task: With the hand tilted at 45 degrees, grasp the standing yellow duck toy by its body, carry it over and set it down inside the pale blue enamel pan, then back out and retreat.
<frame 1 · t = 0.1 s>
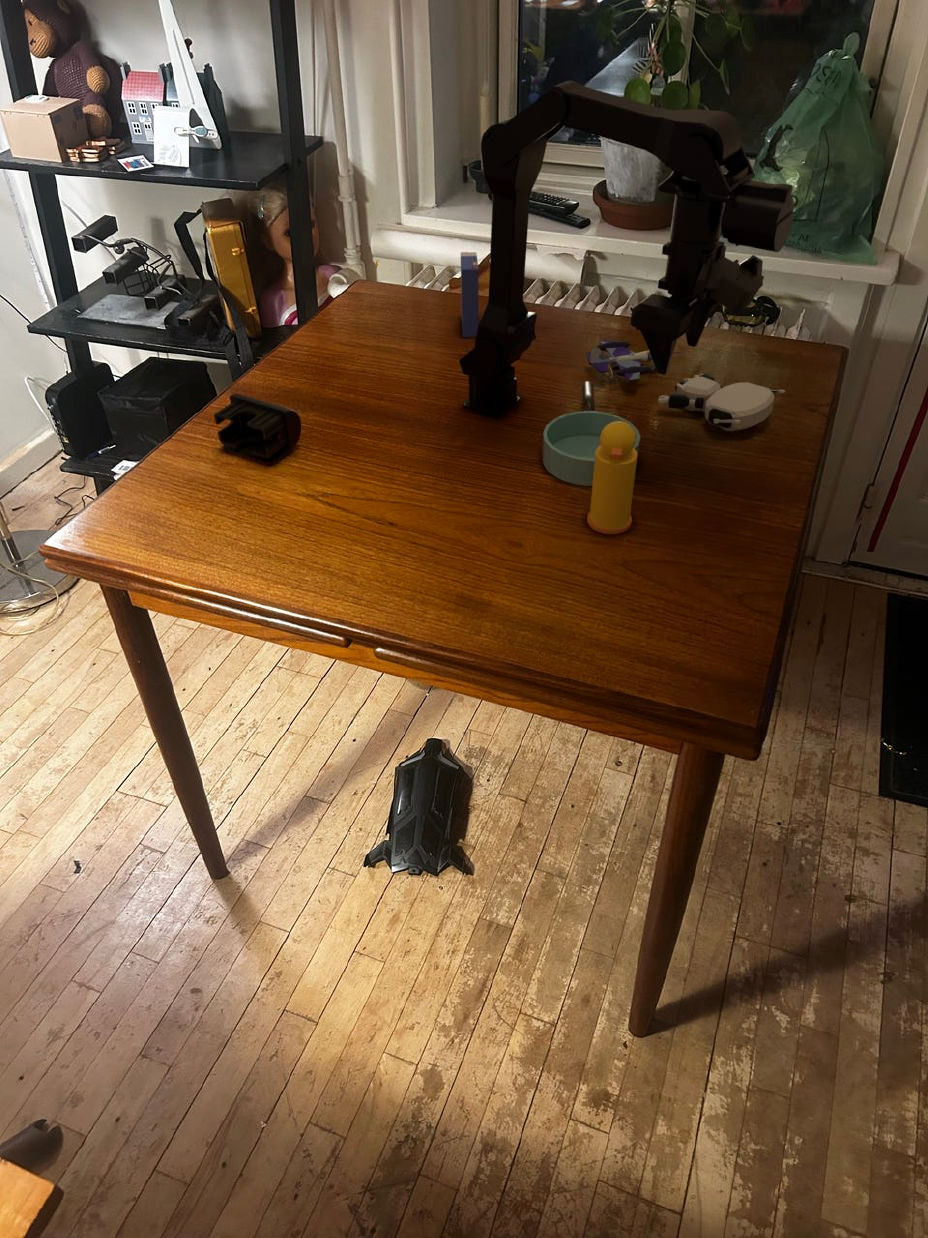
hand: (677, 359, 119), 15 cm above the table, tool pointing down, fingers open, 9 cm apart
robot toy: (716, 416, 137), on the table
toy airplane: (628, 374, 148), on the table
walkman: (469, 328, 162), on the table
duck toy: (609, 521, 118), on the table
pan handle: (588, 400, 135), point 2 cm above the table
end cap: (262, 448, 133), on the table
pan: (589, 460, 129), on the table
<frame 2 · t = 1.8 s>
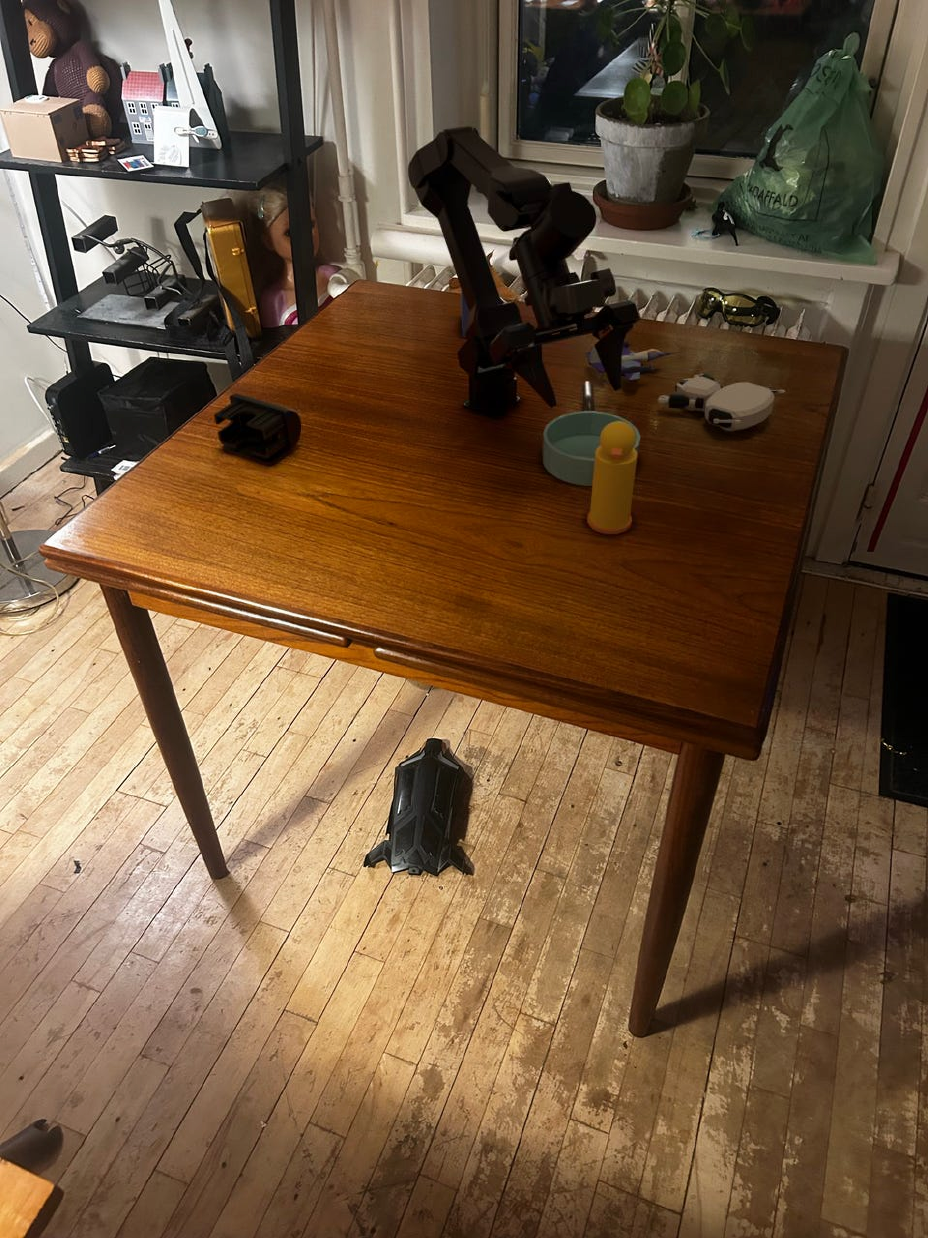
hand: (586, 397, 115), 13 cm above the table, tool tilted 45°, fingers open, 9 cm apart
nothing on the table moved.
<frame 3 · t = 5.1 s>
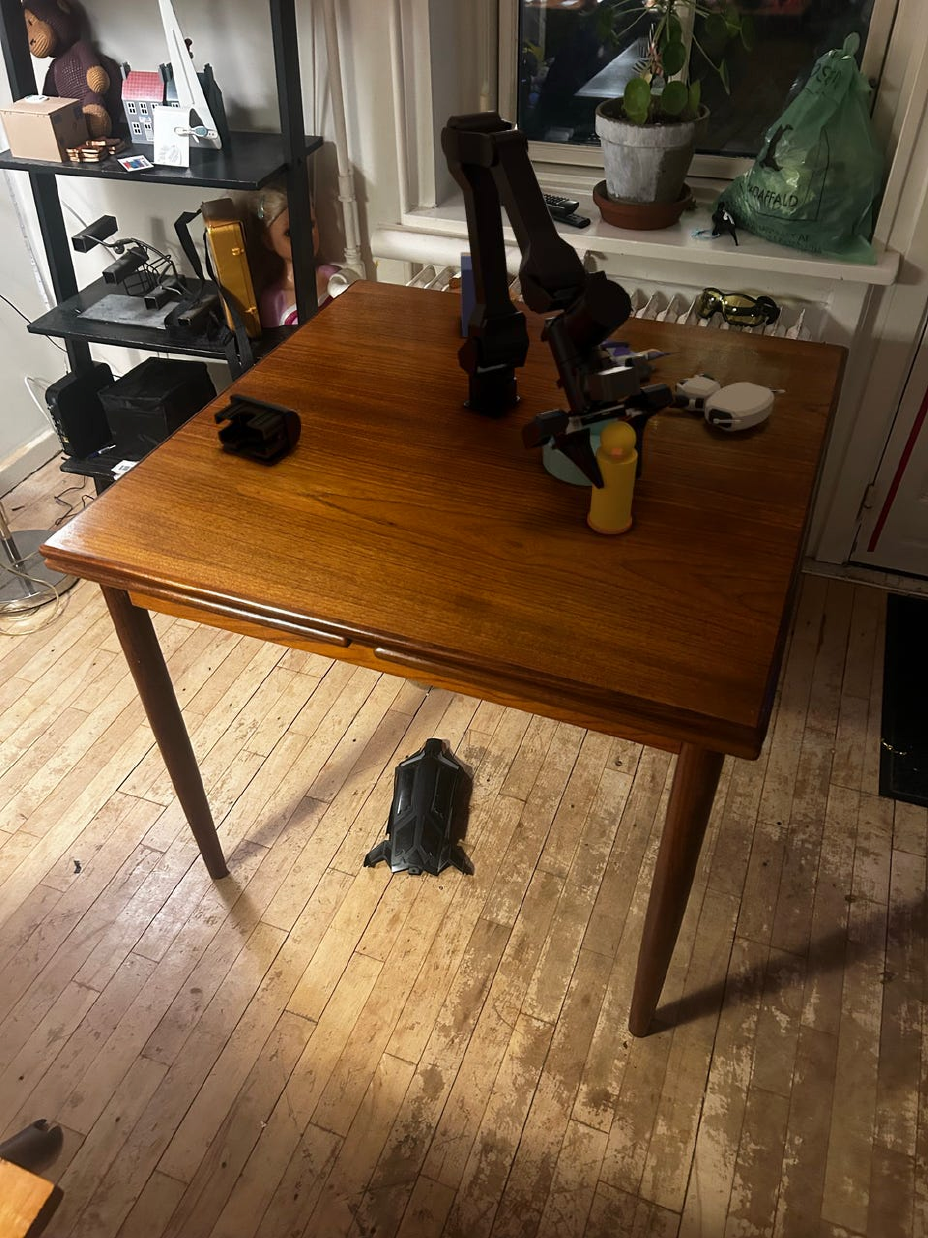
hand: (619, 483, 112), 7 cm above the table, tool tilted 45°, fingers closed on duck toy, 5 cm apart
duck toy: (609, 521, 118), on the table, touching gripper
everything else where it was.
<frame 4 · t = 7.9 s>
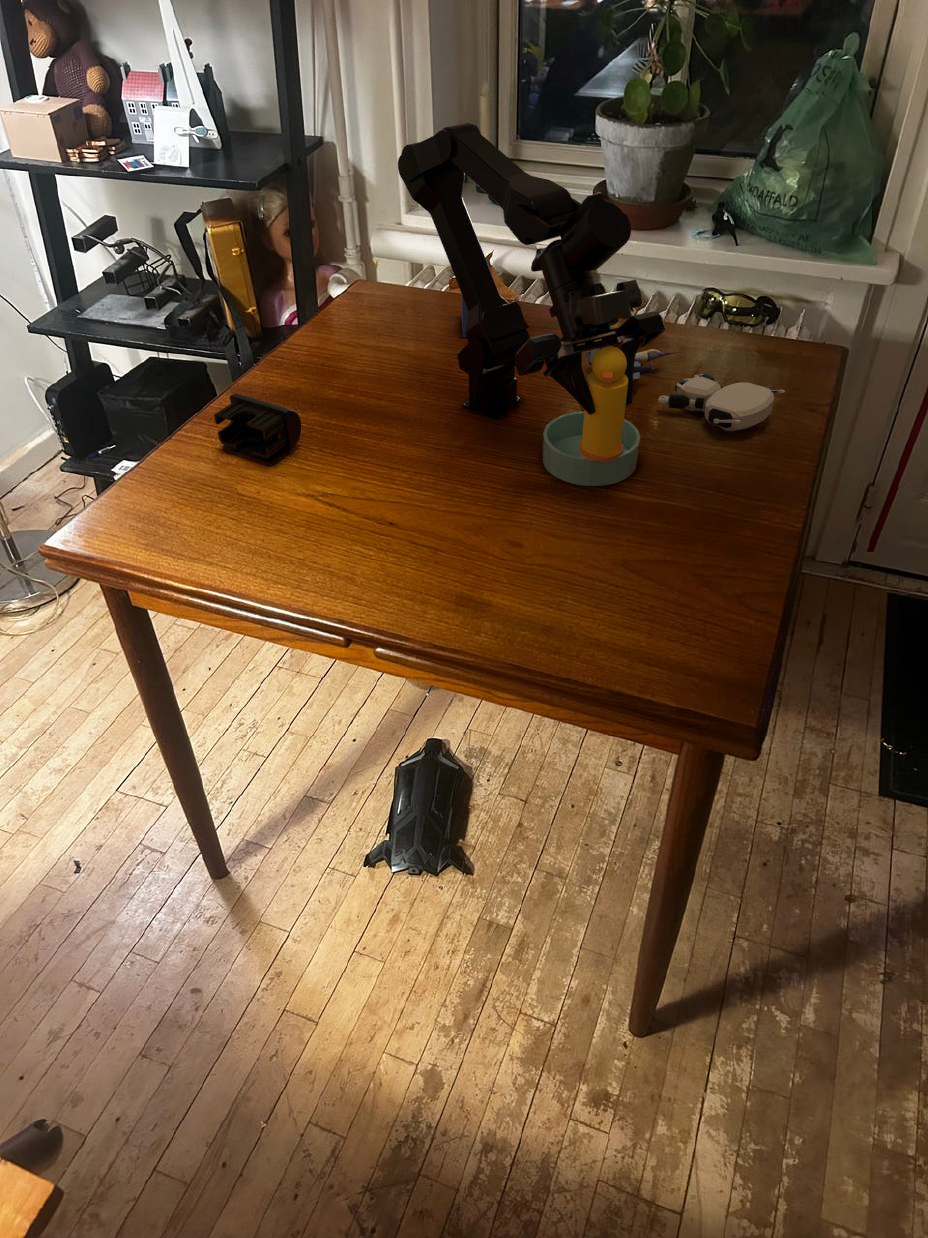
hand: (610, 408, 114), 12 cm above the table, tool tilted 45°, fingers closed on duck toy, 5 cm apart
duck toy: (600, 449, 120), point 6 cm above the table, touching gripper
everything else where it was.
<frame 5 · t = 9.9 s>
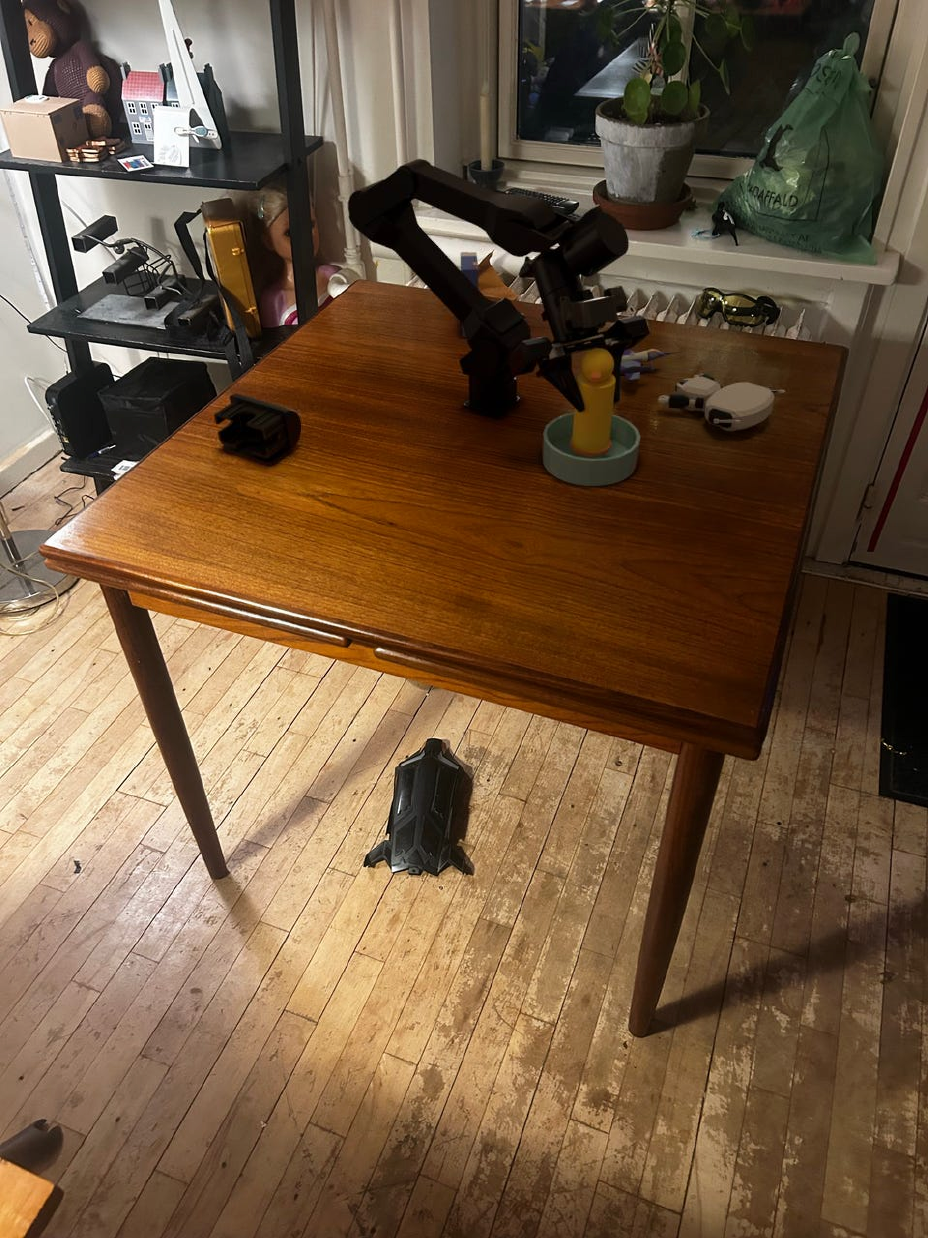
hand: (599, 406, 122), 9 cm above the table, tool tilted 45°, fingers closed on duck toy, 5 cm apart
duck toy: (590, 445, 127), point 2 cm above the table, touching gripper
everything else where it was.
when the fingers open (7 cm above the table, at t = 10.9 s): duck toy stays where it is, resting on pan.
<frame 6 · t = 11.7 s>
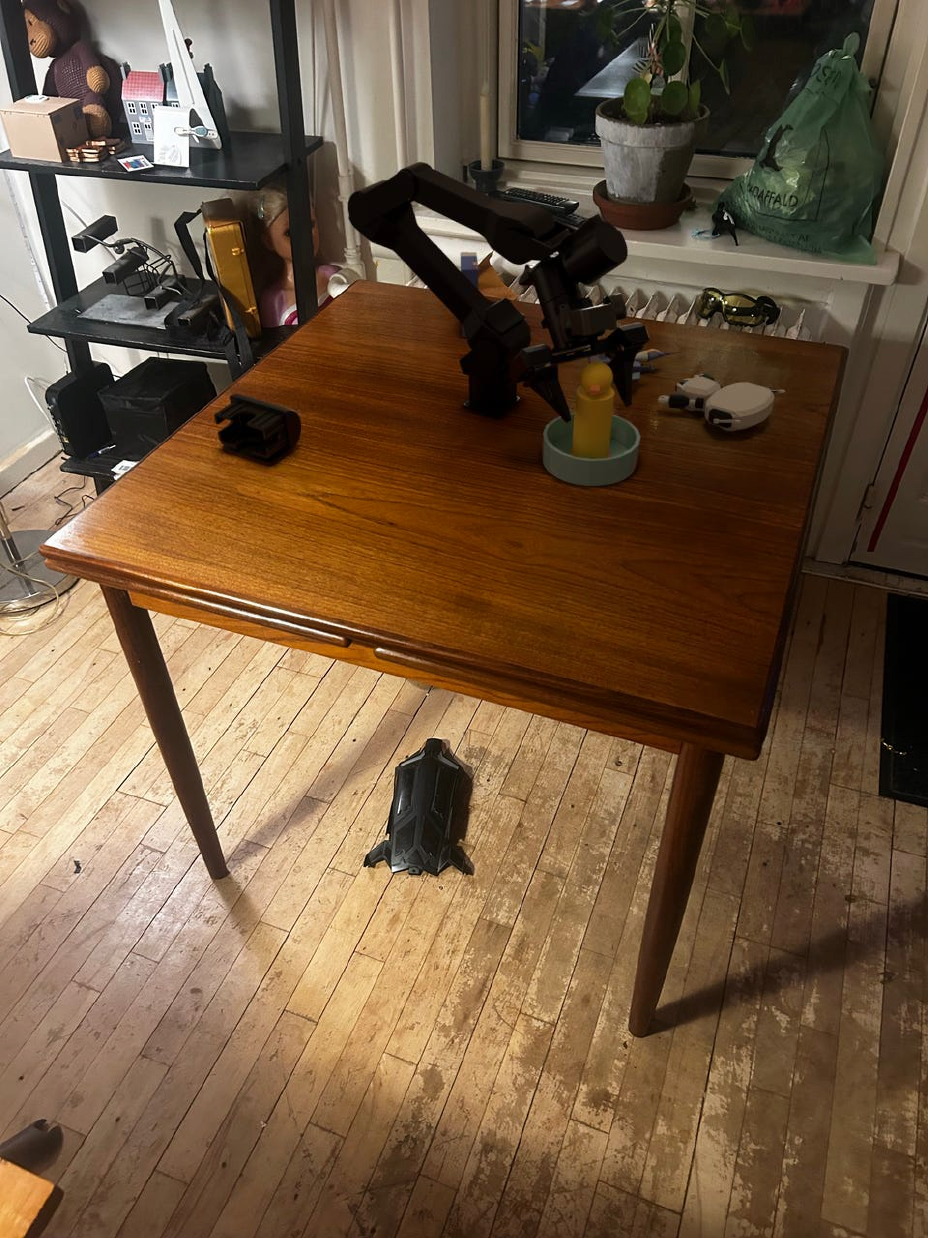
hand: (599, 413, 122), 8 cm above the table, tool tilted 45°, fingers open, 9 cm apart
duck toy: (589, 457, 128), resting on pan
everything else where it was.
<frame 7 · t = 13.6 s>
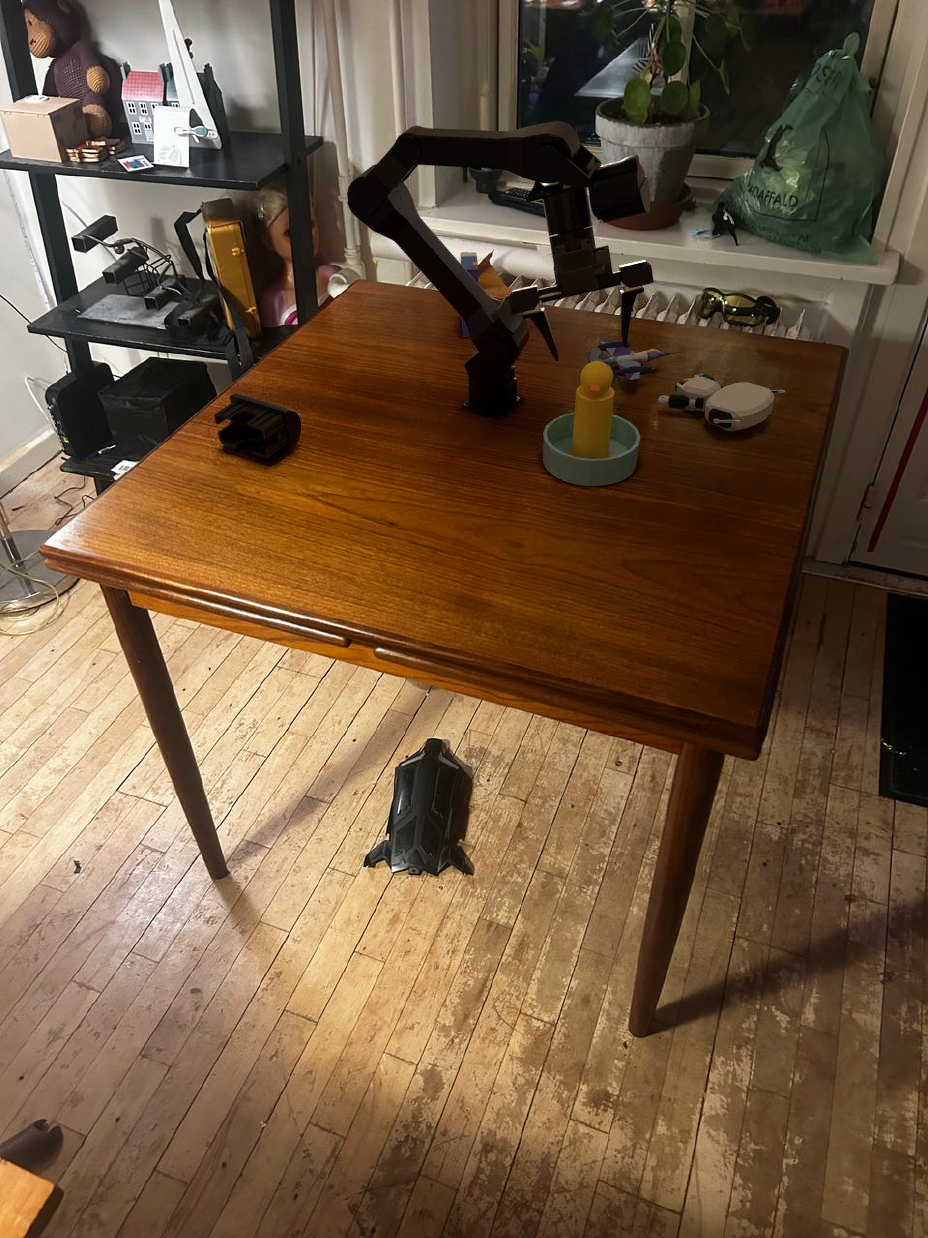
hand: (590, 353, 126), 12 cm above the table, tool tilted 25°, fingers open, 9 cm apart
nothing on the table moved.
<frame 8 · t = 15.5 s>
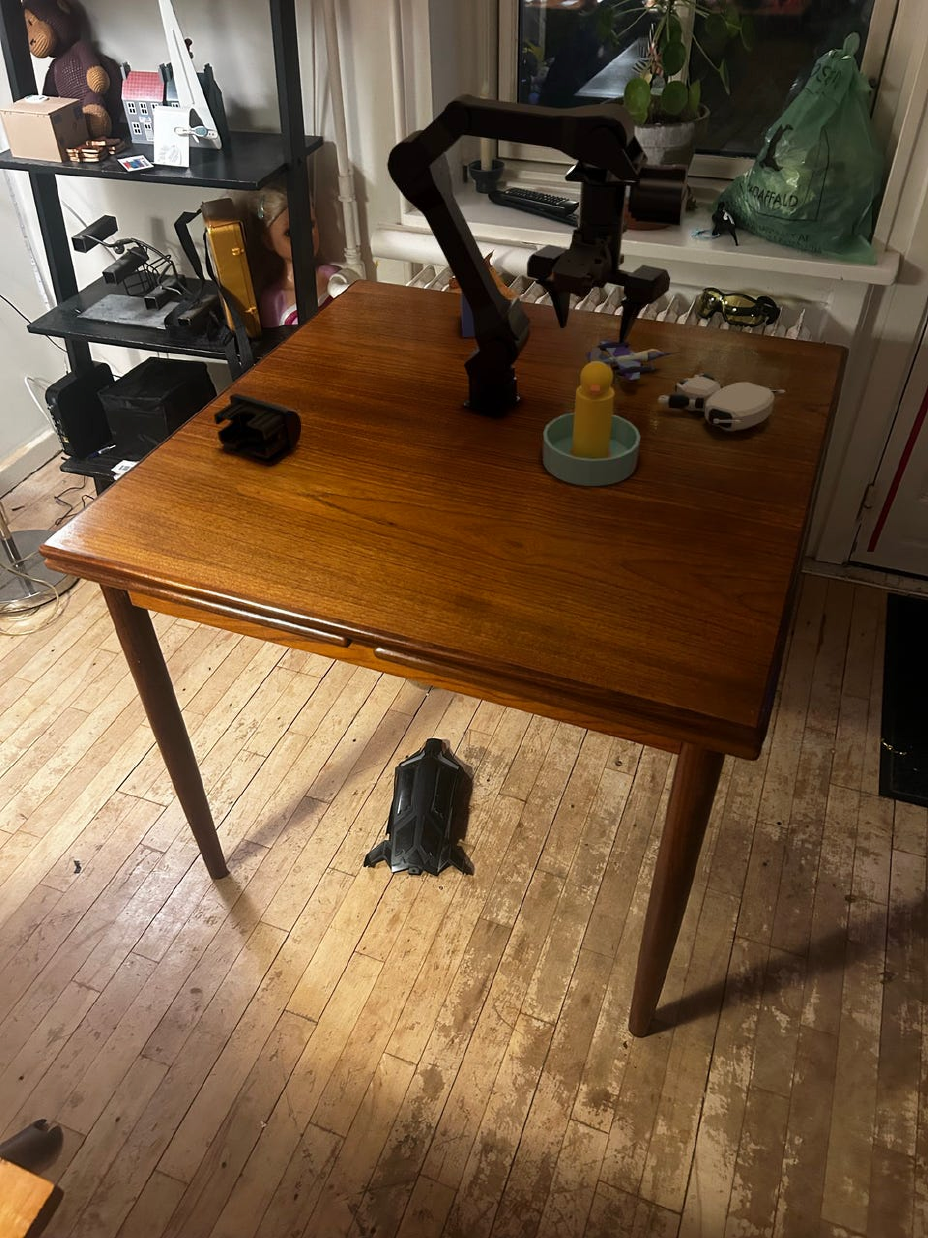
hand: (592, 334, 129), 13 cm above the table, tool pointing down, fingers open, 9 cm apart
nothing on the table moved.
at the end: duck toy inside the target area in the pan (0.0 cm from its centre), point 0.5 cm above the pan's base; duck toy tilted 0°; the gripper is holding nothing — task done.
